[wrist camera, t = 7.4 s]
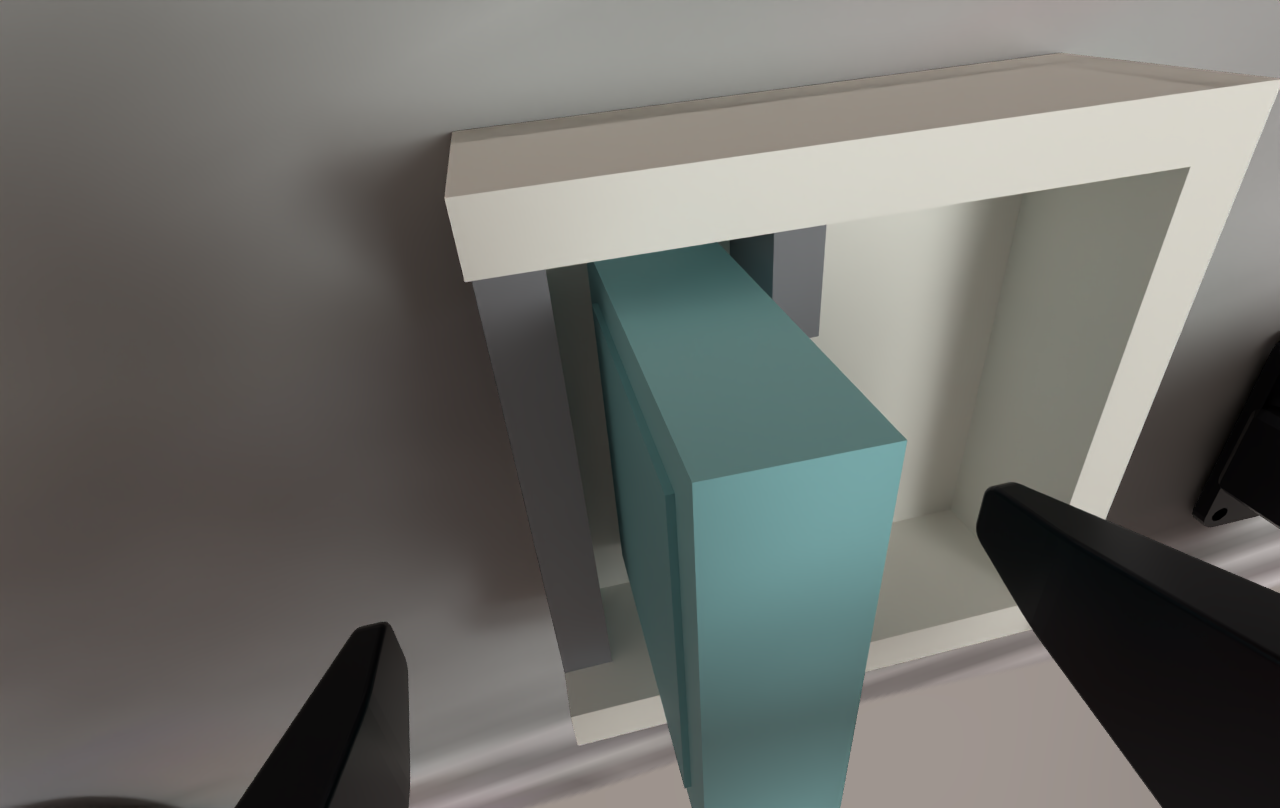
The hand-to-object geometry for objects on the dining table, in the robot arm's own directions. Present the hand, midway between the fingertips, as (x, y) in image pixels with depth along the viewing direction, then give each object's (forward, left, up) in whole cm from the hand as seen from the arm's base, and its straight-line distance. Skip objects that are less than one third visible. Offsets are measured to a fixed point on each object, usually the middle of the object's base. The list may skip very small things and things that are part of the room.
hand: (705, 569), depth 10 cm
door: (0, 0, -4) cm, 4 cm away
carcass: (-3, 0, -5) cm, 6 cm away
